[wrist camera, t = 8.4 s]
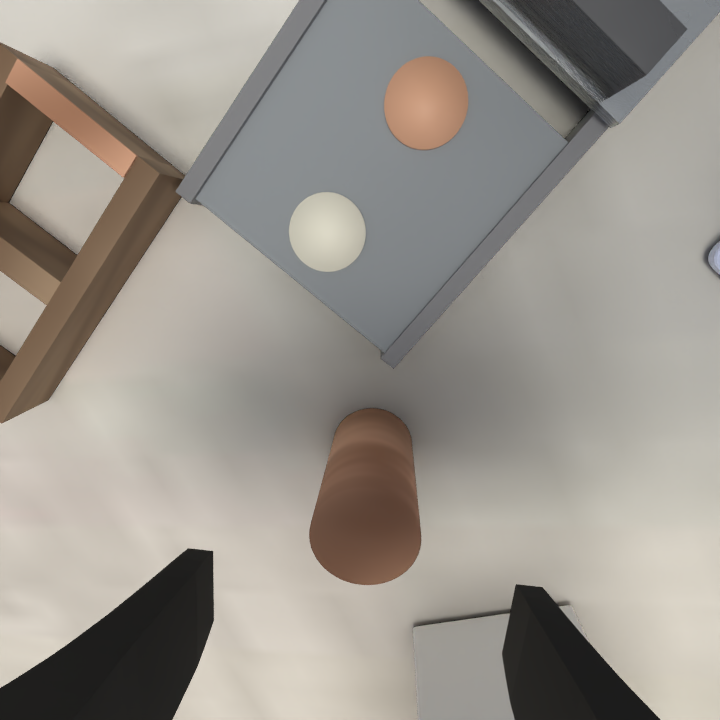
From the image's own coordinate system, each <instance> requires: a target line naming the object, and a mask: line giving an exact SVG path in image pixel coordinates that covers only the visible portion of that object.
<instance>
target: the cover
mask: <svg viewBox="0 0 720 720" xmlns="http://www.w3.org/2000/svg"><path fill="white" fill-rule="evenodd" d="M479 1H480V2H481V3H482V4H483V5H484V6H485V7H486V8H487V9H488V10H489V11H490V12H491V13H492V14H493V15H494V16H495V17H497V18H498V19H499V20H500V21H501V22H502V23H503V24H504V25H505V26H506V27H507V28H508V29H509V30H510V31H511V32H512V33H513V34H514V35H515V36H516V37H517V38H518V39H519V40H520V41H521V42H522V43H523V44H524V45H525V46H526V47H527V48H528V49H529V50H531V51H532V52H533V53H534V54H535V55H536V56H537V57H538V58H539V59H540V60H541V61H542V62H543V63H544V64H545V65H546V66H547V67H548V68H549V69H550V70H551V71H552V72H553V73H554V74H555V75H556V76H557V77H558V78H559V79H560V80H561V81H562V82H563V83H565V84H566V85H567V86H568V87H569V88H570V89H571V90H572V91H573V92H574V93H575V94H576V95H577V96H578V97H579V98H580V99H581V100H582V101H583V102H584V103H585V104H586V105H587V106H588V107H589V108H590V109H591V110H592V111H593V112H594V113H595V114H596V115H598V116H599V117H600V118H601V119H602V120H603V121H604V122H605V123H606V124H607V125H608V126H609V127H610V128H611V127H613V126H616V125H618V124H620V123H621V122H622V121H623V119H624V118H625V117H626V116H627V115H628V114H629V113H630V112H631V110H632V109H633V108H634V107H635V106H636V105H637V104H638V103H639V102H640V100H641V99H642V98H643V97H644V96H645V95H646V94H647V93H648V91H649V90H650V89H651V88H652V87H653V86H654V85H655V84H656V83H657V81H658V80H659V79H660V78H661V77H662V76H663V75H664V74H665V72H666V71H667V70H668V69H669V68H670V67H671V66H672V65H673V64H674V62H675V61H676V60H677V59H678V58H679V57H680V56H681V55H682V53H683V52H684V51H685V50H686V49H687V48H688V47H689V46H690V45H691V43H692V42H693V41H694V40H695V39H696V38H697V37H698V36H699V34H700V33H701V32H702V31H703V30H704V29H705V28H706V27H707V26H708V24H709V23H710V22H711V21H712V20H713V19H714V18H715V17H716V15H717V14H718V13H719V12H720V0H479Z"/></svg>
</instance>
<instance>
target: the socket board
mask: <svg viewBox="0 0 720 720" xmlns="http://www.w3.org/2000/svg"><path fill="white" fill-rule="evenodd" d="M53 121H54V122H55V123H56V124H57V125H59V126H60V127H61V128H62V129H64V130H65V131H66V132H67V133H69V134H70V135H71V136H72V137H74V138H75V139H76V140H77V141H79V142H80V143H81V144H82V145H84V146H85V147H86V148H87V149H89V150H90V151H91V152H92V153H93V154H95V155H96V156H97V157H98V158H100V159H101V160H102V161H103V162H105V163H106V164H107V165H108V166H110V167H111V168H112V169H113V170H115V171H116V172H117V173H118V174H120V175H121V176H122V177H124V180H123V182H122V183H121V185H120V187H119V188H118V190H117V191H116V193H115V195H114V196H113V198H112V200H111V201H110V203H109V205H108V206H107V208H106V209H105V211H104V213H103V214H102V216H101V218H100V219H99V221H98V223H97V224H96V226H95V227H94V229H93V231H92V232H91V234H90V236H89V237H88V239H87V241H86V242H85V244H84V245H83V247H82V249H81V250H80V252H79V254H78V255H76V254H75V253H73V252H72V251H71V250H69V249H68V248H67V247H66V246H64V245H63V244H62V243H60V242H59V241H58V240H56V239H55V238H54V237H52V236H51V235H50V234H49V233H47V232H46V231H45V230H43V229H42V228H41V227H39V226H38V225H37V224H36V223H34V222H33V221H32V220H30V219H29V218H28V217H26V216H25V215H24V214H22V213H21V212H20V211H19V210H17V209H16V208H15V207H13V206H12V205H11V204H9V203H8V202H9V200H10V199H11V197H12V195H13V193H14V191H15V189H16V188H17V186H18V184H19V182H20V180H21V178H22V177H23V175H24V173H25V171H26V169H27V167H28V166H29V164H30V162H31V160H32V158H33V156H34V155H35V153H36V151H37V149H38V147H39V145H40V144H41V142H42V140H43V138H44V136H45V134H46V133H47V131H48V129H49V127H50V125H51V123H52V122H53ZM184 177H185V175H183V174H182V173H181V172H180V171H178V170H177V169H176V168H175V167H174V166H172V165H171V164H170V163H169V162H167V161H166V160H165V159H164V158H163V157H161V156H160V155H159V154H158V153H156V152H155V151H154V150H153V149H152V148H150V147H149V146H148V145H147V144H146V143H144V142H143V141H142V140H141V139H139V138H138V137H137V136H136V135H135V134H133V133H132V132H131V131H130V130H128V129H127V128H126V127H125V126H124V125H122V124H121V123H120V122H119V121H117V120H116V119H115V118H114V117H113V116H111V115H110V114H109V113H108V112H107V111H105V110H104V109H103V108H102V107H100V106H99V105H98V104H97V103H96V102H94V101H93V100H92V99H91V98H89V97H88V96H87V95H86V94H85V93H83V92H82V91H81V90H80V89H78V88H77V87H76V86H75V85H74V84H72V83H71V82H70V81H69V80H67V79H66V78H65V77H64V76H63V75H61V74H60V73H59V72H58V71H57V70H55V69H54V68H53V67H51V66H48V65H46V64H44V63H42V62H40V61H38V60H36V59H34V58H32V57H30V56H28V55H26V54H23V53H21V52H19V51H17V50H15V49H13V48H11V47H9V46H7V45H5V44H3V43H0V271H1V272H3V273H4V274H5V275H7V276H8V277H9V278H11V279H12V280H13V281H15V282H16V283H17V284H19V285H20V286H21V287H23V288H24V289H26V290H27V291H28V292H30V293H31V294H32V295H34V296H35V297H36V298H38V299H39V300H40V301H42V302H43V303H44V304H46V305H47V306H46V308H45V309H44V311H43V313H42V314H41V316H40V317H39V319H38V321H37V322H36V324H35V326H34V327H33V329H32V331H31V332H30V334H29V335H28V337H27V339H26V340H25V342H24V344H23V345H22V347H21V349H20V350H19V352H18V353H17V355H16V356H14V355H13V354H11V353H10V352H9V351H7V350H6V349H4V348H3V347H2V346H0V422H1V423H4V422H6V421H8V420H10V419H12V418H14V417H16V416H18V415H20V414H22V413H24V412H26V411H28V410H30V409H32V408H34V407H36V406H38V405H40V404H42V403H44V402H46V401H48V400H49V398H50V397H51V395H52V393H53V392H54V390H55V389H56V387H57V386H58V384H59V383H60V381H61V380H62V378H63V377H64V375H65V374H66V372H67V371H68V369H69V368H70V366H71V364H72V363H73V361H74V360H75V358H76V357H77V355H78V354H79V352H80V351H81V349H82V348H83V346H84V345H85V343H86V342H87V340H88V338H89V337H90V335H91V334H92V332H93V331H94V329H95V328H96V326H97V325H98V323H99V322H100V320H101V319H102V317H103V316H104V314H105V313H106V311H107V309H108V308H109V306H110V305H111V303H112V302H113V300H114V299H115V297H116V296H117V294H118V293H119V291H120V290H121V288H122V287H123V285H124V284H125V282H126V280H127V279H128V277H129V276H130V274H131V273H132V271H133V270H134V268H135V267H136V265H137V264H138V262H139V261H140V259H141V258H142V256H143V255H144V253H145V251H146V250H147V248H148V247H149V245H150V244H151V242H152V241H153V239H154V238H155V236H156V235H157V233H158V232H159V230H160V229H161V227H162V226H163V224H164V222H165V221H166V219H167V218H168V216H169V215H170V213H171V212H172V210H173V209H174V207H175V206H176V204H177V203H178V201H179V200H180V198H181V196H180V195H179V194H178V193H176V192H175V191H176V190H177V188H178V187H179V185H180V184H181V182H182V180H183V179H184Z"/></svg>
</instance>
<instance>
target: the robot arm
mask: <svg viewBox="0 0 720 720" xmlns="http://www.w3.org/2000/svg"><path fill="white" fill-rule="evenodd" d="M708 260H709V264H710V266H711V267H712V268H713V269H714V270H715V271H716V272H717V273H718V274H719V275H720V241H719V242H718V243H717V244H716V245H715V246H714V247H713V248H712V250H711V251H710V253H709V257H708ZM213 621H214V599H213V551H207V550H198V549H187V550H186V551H184V552H183V553H182V554H181V555H179V556H178V557H177V558H176V559H175V560H173V561H172V562H171V563H170V564H169V565H168V566H166V567H165V568H164V569H163V570H162V571H160V572H159V573H158V574H157V575H156V576H155V577H153V578H152V579H151V580H150V581H149V582H147V583H146V584H145V585H144V586H143V587H141V588H140V589H139V590H138V591H136V592H135V593H134V594H133V595H131V596H130V597H129V598H128V599H127V600H125V601H124V602H123V603H122V604H120V605H119V606H118V607H117V608H115V609H114V610H113V611H112V612H110V613H109V614H108V615H106V616H105V617H104V618H103V619H101V620H100V621H99V622H97V623H96V624H94V625H93V626H92V627H90V628H89V629H88V630H86V631H85V632H84V633H82V634H81V635H80V636H78V637H77V638H76V639H74V640H73V641H72V642H70V643H69V644H67V645H66V646H65V647H63V648H62V649H60V650H59V651H57V652H56V653H55V654H53V655H52V656H50V657H49V658H47V659H46V660H44V661H43V662H41V663H39V664H38V665H36V666H35V667H33V668H32V669H30V670H29V671H27V672H25V673H24V674H22V675H21V676H19V677H18V678H16V679H14V680H13V681H11V682H10V683H8V684H6V685H5V686H3V687H1V688H0V720H172V719H173V717H174V715H175V713H176V711H177V709H178V707H179V705H180V702H181V700H182V698H183V696H184V694H185V692H186V690H187V688H188V686H189V683H190V681H191V679H192V677H193V675H194V673H195V671H196V668H197V666H198V664H199V661H200V658H201V655H202V653H203V650H204V647H205V644H206V641H207V639H208V636H209V633H210V630H211V627H212V624H213ZM502 658H503V664H504V671H505V677H506V683H507V688H508V694H509V699H510V704H511V708H512V711H513V715H514V719H515V720H660V719H659V718H658V717H657V716H656V715H655V714H654V713H653V712H652V710H651V709H650V708H649V707H648V706H647V705H646V704H645V703H644V702H643V701H642V700H641V699H640V698H639V697H638V696H637V695H636V694H635V693H634V692H633V691H632V690H631V689H630V688H629V687H628V686H627V684H626V683H625V682H624V681H623V680H622V679H621V678H620V677H619V676H618V675H617V674H616V673H615V671H614V670H613V669H612V668H611V667H610V666H609V665H608V664H607V663H606V661H605V660H604V659H603V658H602V657H601V656H600V655H599V653H598V652H597V651H596V650H595V649H594V648H593V647H592V645H591V644H590V643H589V642H588V641H587V640H586V638H585V637H584V636H583V635H582V634H581V633H580V631H579V630H578V629H577V628H576V627H575V625H574V624H573V623H572V622H571V621H570V620H569V618H568V617H567V616H566V615H565V614H564V612H563V611H562V610H561V609H560V608H559V606H558V605H557V604H556V603H555V602H554V600H553V599H552V598H551V597H550V596H549V594H548V593H547V592H546V591H545V590H544V589H543V587H535V586H526V585H517V584H516V587H515V592H514V597H513V601H512V606H511V611H510V616H509V621H508V626H507V631H506V636H505V640H504V645H503V650H502Z"/></svg>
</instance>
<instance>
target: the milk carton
mask: <svg viewBox="0 0 720 720" xmlns="http://www.w3.org/2000/svg"><path fill="white" fill-rule="evenodd" d="M559 608H560V609H561V610H562V611H563V612H564V614H565V615H566V616H567V617H568V618H569V620H570V621H571V622H572V623H573V624H574V625H575V627H576V628H577V629H578V630H579V631H580V633H581V634H582V635H583V636H584V637H585V638H586V640H587V641H588V642H589V640H588V638H587V636H586V634H585V632H584V630H583V628H582V626H581V624H580V622H579V620H578V618H577V615H576V613H575V611H574V609H573V607H572V606H571V605H566V606H559ZM509 616H510V613H508V614H501V615H494V616H486V617H479V618H472V619H465V620H458V621H451V622H444V623H437V624H430V625H424V626H417V627H414V628H413V643H414V661H415V678H416V696H417V714H418V720H515V719H514V715H513V711H512V708H511V704H510V699H509V694H508V688H507V683H506V677H505V671H504V664H503V658H502V650H503V645H504V640H505V636H506V631H507V626H508V621H509ZM589 643H590V642H589Z"/></svg>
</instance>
